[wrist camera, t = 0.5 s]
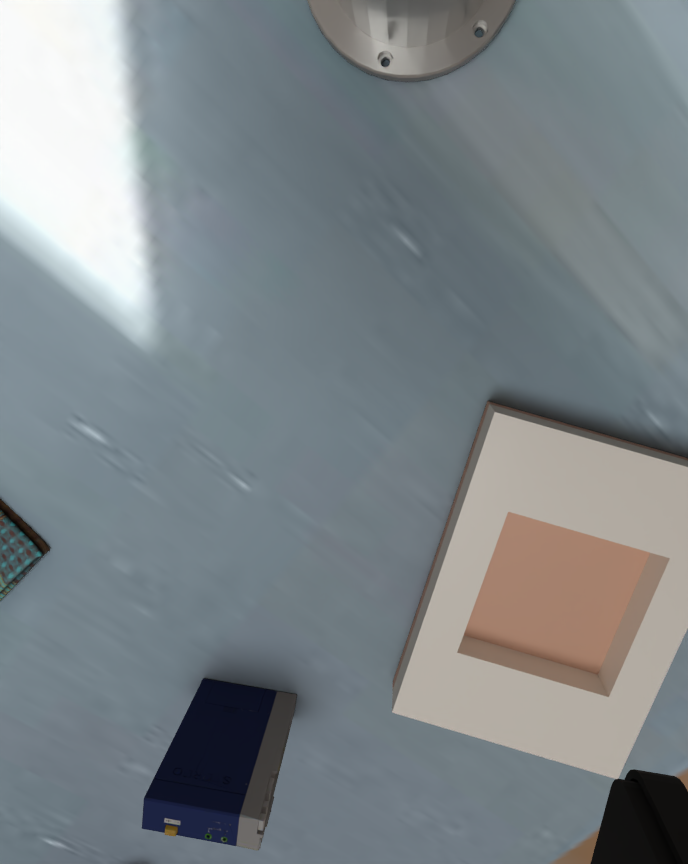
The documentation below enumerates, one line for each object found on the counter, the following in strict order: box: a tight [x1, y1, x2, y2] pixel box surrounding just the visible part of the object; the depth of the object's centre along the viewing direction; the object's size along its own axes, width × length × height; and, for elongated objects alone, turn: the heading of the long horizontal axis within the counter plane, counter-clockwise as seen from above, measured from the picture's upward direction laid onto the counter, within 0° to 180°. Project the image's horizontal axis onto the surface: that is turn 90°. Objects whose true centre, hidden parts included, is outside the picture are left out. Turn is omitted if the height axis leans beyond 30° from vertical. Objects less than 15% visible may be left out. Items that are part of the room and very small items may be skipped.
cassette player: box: [142, 679, 297, 850], centre depth 44 cm, size 7×2×12 cm, turn 82°
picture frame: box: [392, 401, 688, 779], centre depth 43 cm, size 22×16×4 cm
